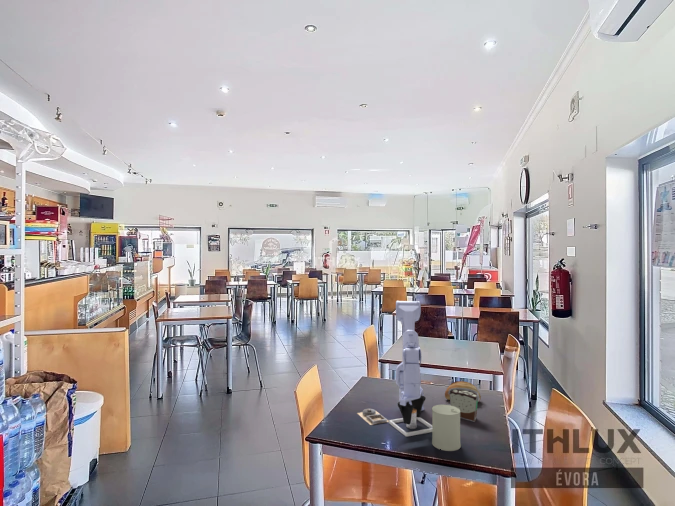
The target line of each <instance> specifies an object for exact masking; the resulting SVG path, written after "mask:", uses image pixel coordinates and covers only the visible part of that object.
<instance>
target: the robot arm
mask: <svg viewBox="0 0 675 506" xmlns="http://www.w3.org/2000/svg"><path fill="white" fill-rule="evenodd" d="M421 306H422V305H421V302H420V301H419V300H415V301H414V300H396V301H395V317H396V320H397V321H398V322H400V323H401V325H402V330H401V331H402V351H401V355H402V356H401V357H402V361H401V362H400V363H399V364H398V365H397V366H396V368H395V369H396V372H395V384H396V386H397V387H398V388H399V389H398V392H399V393H398V395H399V396H398V398H399V400H398V402H397V407H398V408H399V410H400V412H401V416H402V417H401V418H403V421H404V422H403V424H405V425H406V424H410V423H411V415H412V411H413V408H415V409H416V410H417V412H416V416H417V417H418V418H419V417H420V418H421V414H422V411H425V405H424V403H425V401H426V396H425V395H424V393H425V392H424V388H422V386H421V384H422V378H421V377H422V376H421V364H422V349H421V346H420V342H419V334H418V332H416V331H415V327H416V326H415V323H416V322H417V321H419V320H420V318H421V312H422V309H421Z"/></svg>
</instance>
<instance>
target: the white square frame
mask: <svg viewBox="0 0 675 506" xmlns="http://www.w3.org/2000/svg"><path fill="white" fill-rule="evenodd" d="M388 420H389V422H388V424H389V425H391V427H393V428H394V429H396V430H397V431H398V432H400V433H401V435H403V436H405V437H411V436H412V437H413V436H416V435H417V436H418V435H423V434H428V433H432V423H429V422H428V421H426V420H425V419H424V418H422V417H421V416H420V417H419V418H418V417H417V421H418V422H420V423H422V425H424V426H426V427H427V428H424V429H420V430H414V431H409V432H407V431H406V430H404V429H403V428H402V427H400V426H399V425H398V424H397V423H404V421H403V417H400V418H395V419H388Z"/></svg>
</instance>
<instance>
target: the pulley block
mask: <svg viewBox="0 0 675 506" xmlns="http://www.w3.org/2000/svg"><path fill="white" fill-rule="evenodd" d="M356 414H357V415H358V416H359V417H360V418H361V419H363V420H364V422H366V423H368V424H369V426H373V425H378V424H379V425H380V424H385V423H389V420H390V419H387V418H386V417H384V415H382V413H379V412H378V411H377V410H376V409H373V408H365V409H363V410H362V411H361V412H357V413H356Z"/></svg>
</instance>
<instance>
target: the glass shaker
mask: <svg viewBox="0 0 675 506" xmlns="http://www.w3.org/2000/svg"><path fill="white" fill-rule="evenodd" d="M416 412H417V410H416V409H415V408H413V411H412V415H411V423H410V424H405V425H406V426H405V427H406V428H407V429H411V430H415V429H417V427H418V426H417V421H418V420H417V416H416Z"/></svg>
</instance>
